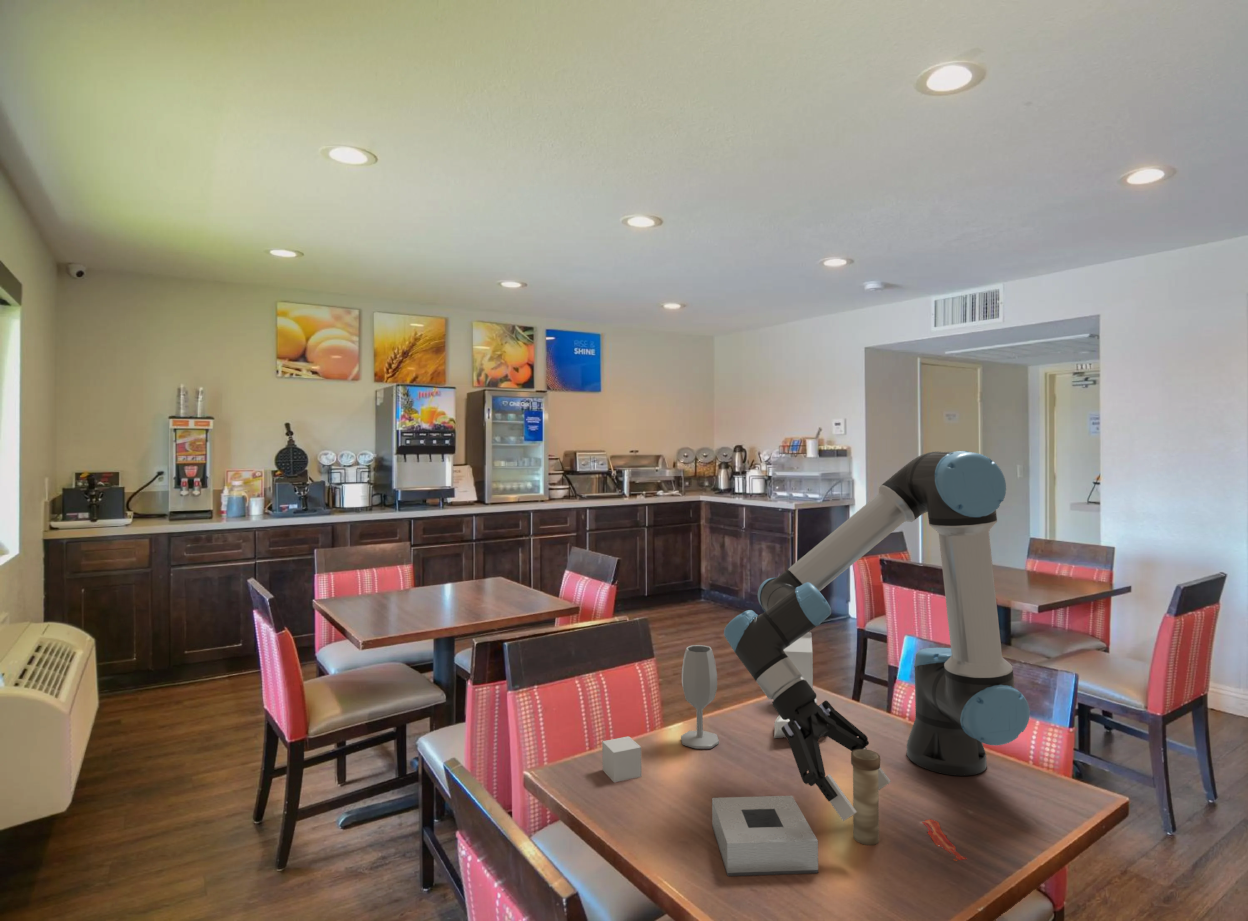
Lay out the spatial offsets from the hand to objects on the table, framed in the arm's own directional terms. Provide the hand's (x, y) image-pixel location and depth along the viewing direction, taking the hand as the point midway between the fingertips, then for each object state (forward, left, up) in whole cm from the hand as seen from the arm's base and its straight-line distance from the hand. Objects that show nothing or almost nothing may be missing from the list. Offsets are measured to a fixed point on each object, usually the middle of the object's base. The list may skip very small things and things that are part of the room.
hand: (868, 800), depth 114 cm
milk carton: (-6, -61, -7) cm, 61 cm away
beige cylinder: (0, -1, -7) cm, 7 cm away
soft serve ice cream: (-1, -44, -7) cm, 44 cm away
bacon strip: (-12, -1, -7) cm, 14 cm away
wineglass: (+22, -41, -7) cm, 47 cm away
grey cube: (+40, -27, -7) cm, 49 cm away
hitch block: (+18, +1, -7) cm, 19 cm away
